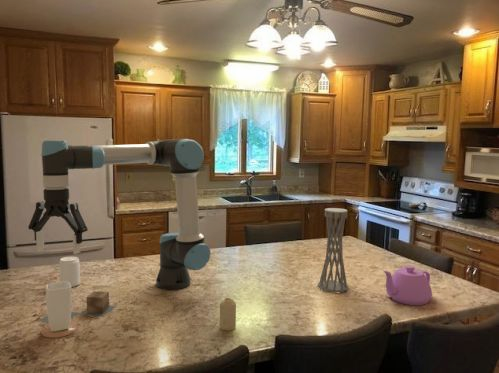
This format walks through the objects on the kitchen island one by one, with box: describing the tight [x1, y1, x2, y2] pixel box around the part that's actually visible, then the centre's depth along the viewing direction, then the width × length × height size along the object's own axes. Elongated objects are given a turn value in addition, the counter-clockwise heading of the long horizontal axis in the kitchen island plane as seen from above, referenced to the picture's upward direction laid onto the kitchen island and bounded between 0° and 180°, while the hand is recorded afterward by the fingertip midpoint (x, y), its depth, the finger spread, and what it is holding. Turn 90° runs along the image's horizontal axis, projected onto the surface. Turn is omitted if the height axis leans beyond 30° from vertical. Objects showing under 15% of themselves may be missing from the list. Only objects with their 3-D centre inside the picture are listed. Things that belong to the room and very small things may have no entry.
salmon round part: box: [40, 321, 78, 339], centre depth 138 cm, size 11×11×1 cm
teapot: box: [383, 265, 433, 306], centre depth 171 cm, size 25×18×14 cm
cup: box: [45, 281, 72, 332], centre depth 137 cm, size 7×7×15 cm
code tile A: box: [37, 311, 80, 324], centre depth 148 cm, size 10×10×1 cm
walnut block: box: [86, 290, 110, 313], centre depth 155 cm, size 6×6×6 cm
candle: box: [219, 297, 237, 331], centre depth 142 cm, size 6×6×10 cm
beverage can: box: [58, 255, 81, 288], centre depth 181 cm, size 8×8×12 cm
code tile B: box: [78, 304, 117, 318], centre depth 155 cm, size 10×10×1 cm
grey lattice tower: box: [317, 207, 349, 293], centre depth 182 cm, size 14×13×35 cm
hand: (58, 251), depth 136 cm, fingers open, 13 cm apart
